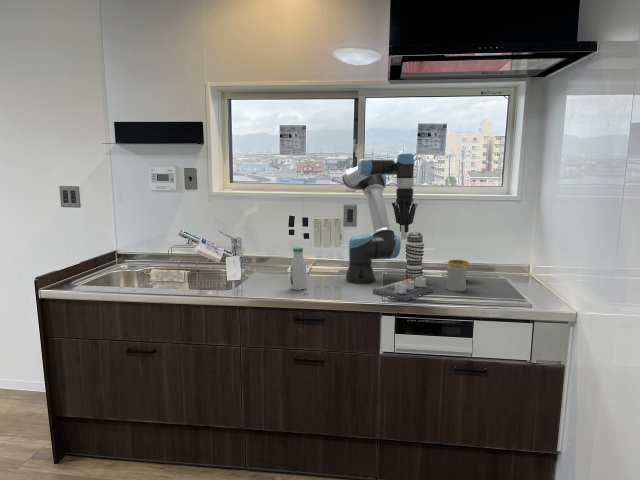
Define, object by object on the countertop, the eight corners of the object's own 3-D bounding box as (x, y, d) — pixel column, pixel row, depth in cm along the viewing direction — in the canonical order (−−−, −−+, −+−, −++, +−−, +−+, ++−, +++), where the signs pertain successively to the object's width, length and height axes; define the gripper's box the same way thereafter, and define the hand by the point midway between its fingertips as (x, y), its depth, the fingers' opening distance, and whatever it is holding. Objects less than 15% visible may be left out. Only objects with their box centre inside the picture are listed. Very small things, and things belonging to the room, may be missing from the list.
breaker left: (394, 292, 198) (394, 282, 197) (398, 291, 200) (398, 281, 199) (402, 293, 195) (402, 284, 194) (406, 292, 197) (406, 283, 196)
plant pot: (466, 283, 220) (466, 264, 219) (445, 281, 225) (445, 262, 224) (470, 279, 229) (471, 260, 228) (450, 277, 234) (450, 258, 233)
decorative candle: (423, 283, 221) (424, 234, 217) (404, 283, 222) (405, 233, 219) (423, 279, 230) (424, 231, 226) (404, 279, 231) (405, 231, 228)
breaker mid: (402, 288, 204) (402, 279, 203) (406, 287, 206) (406, 278, 205) (410, 289, 201) (410, 280, 201) (413, 288, 203) (413, 279, 203)
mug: (466, 291, 205) (467, 268, 204) (447, 291, 207) (448, 268, 205) (463, 285, 217) (464, 263, 215) (445, 284, 219) (446, 262, 217)
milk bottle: (309, 287, 217) (308, 247, 214) (302, 291, 210) (301, 249, 207) (295, 286, 220) (294, 246, 217) (288, 289, 213) (287, 248, 211)
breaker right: (414, 285, 209) (415, 276, 208) (418, 284, 211) (418, 275, 210) (422, 287, 206) (422, 278, 205) (425, 285, 208) (426, 276, 207)
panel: (373, 293, 205) (373, 288, 204) (400, 284, 220) (401, 280, 219) (405, 301, 192) (405, 295, 192) (433, 291, 207) (433, 286, 207)
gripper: (388, 187, 204) (387, 238, 208) (412, 188, 195) (411, 241, 199) (397, 187, 209) (397, 236, 213) (421, 187, 200) (420, 239, 204)
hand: (404, 239), depth 206 cm, fingers closed
